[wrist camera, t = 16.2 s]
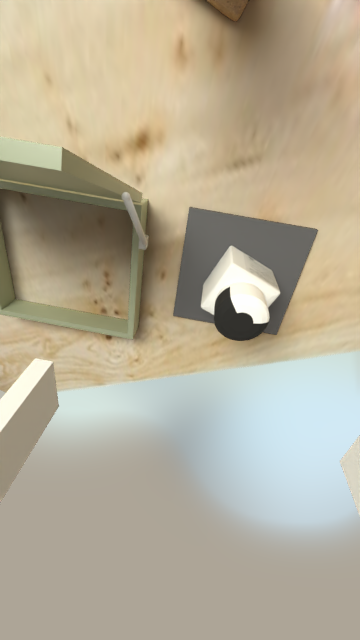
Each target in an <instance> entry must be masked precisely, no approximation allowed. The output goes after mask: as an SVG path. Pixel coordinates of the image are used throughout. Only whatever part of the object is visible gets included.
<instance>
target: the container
mask: <svg viewBox="0 0 360 640" xmlns="http://www.w3.org/2000/svg"><path fill="white" fill-rule="evenodd" d="M279 295H280V290H279V288H278V285H277V282H276V280H275V277H274V274H273V272H272V270H270V269H269V268H267V267H266V266H264V265H262V264H261V263H259V262H258V261H256V260H254V259H253V258H251V257H250V256H248V255H246V254H245V253H243V252H242V251H240V250H238V249H237V248H235V247H234V246H230V247H229V248H228V249H227V251H226V252H225V254H224V255H223V256H222V258H221V259H220V261H219V262H218V264H217V265H216V267H215V268H214V269H213V271H212V272H211V274H210V275H209V277H208V278H207V279H206V281H205V282H204V284H203V292H202V300H201V308H202V309H204V310H206V311H207V312H209V313H211V314H213V315H214V323H215V326H216V328H217V330H218V331H219V332H220V333H221V334H222V335H223V336H225V337H227V338H229V339H232V340H237V341H244V340H250V339H253V338H255V337H257V336H258V335H260V334H261V333H262V332H263V331H264V330H265V329H266V327H267V325H268V322H269V311H268V307H269V306H270V305H271V304H272V303H273V302H274V301H275V299H276V298H277V297H278V296H279Z"/></svg>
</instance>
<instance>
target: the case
mask: <svg viewBox="0 0 360 640" xmlns="http://www.w3.org/2000/svg"><path fill="white" fill-rule="evenodd" d="M0 188H1V189H6V190H12V191H18V192H23V193H29V194H35V195H40V196H46V197H52V198H58V199H63V200H69V201H75V202H80V203H86V204H92V205H97V206H103V207H109V208H114V209H120V210H126V211H128V213H129V215H130V218H131V220H132V222H133V234H132V253H131V272H130V292H129V311H128V320H125V319H119V318H114V317H109V316H103V315H98V314H92V313H87V312H82V311H76V310H71V309H66V308H60V307H55V306H50V305H44V304H39V303H33V302H28V301H23V300H17V299H15V294H14V289H13V284H12V278H11V273H10V268H9V263H8V258H7V252H6V247H5V242H4V237H3V231H2V226H1V221H0V315H5V316H11V317H16V318H21V319H27V320H32V321H37V322H43V323H48V324H53V325H58V326H64V327H69V328H74V329H80V330H85V331H90V332H96V333H101V334H106V335H112V336H117V337H122V338H128V339H133V338H134V336H135V333H136V331H137V329H138V326H139V313H140V300H141V287H142V273H143V260H144V250H146V248H147V247H148V238H149V235H145V234H146V221H147V207H148V200H147V199H142V201H141V203H136V202H132V199H131V197H130V194H129V193H128V192H124V193H123V194H122V199H123V200H119V199H114V198H108V197H102V196H96V195H91V194H85V193H79V192H74V191H68V190H62V189H56V188H51V187H45V186H39V185H34V184H28V183H22V182H16V181H11V180H5V179H0Z"/></svg>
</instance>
